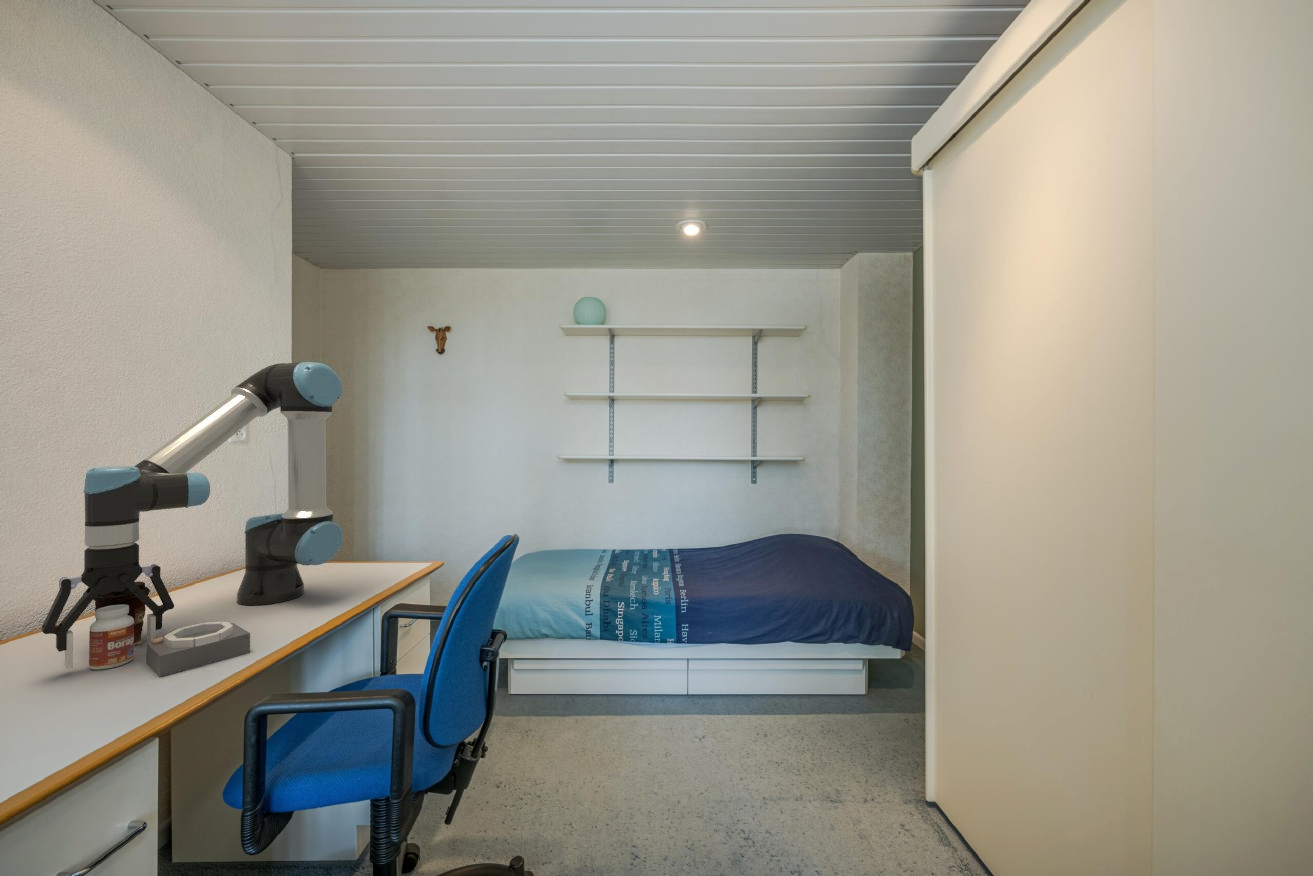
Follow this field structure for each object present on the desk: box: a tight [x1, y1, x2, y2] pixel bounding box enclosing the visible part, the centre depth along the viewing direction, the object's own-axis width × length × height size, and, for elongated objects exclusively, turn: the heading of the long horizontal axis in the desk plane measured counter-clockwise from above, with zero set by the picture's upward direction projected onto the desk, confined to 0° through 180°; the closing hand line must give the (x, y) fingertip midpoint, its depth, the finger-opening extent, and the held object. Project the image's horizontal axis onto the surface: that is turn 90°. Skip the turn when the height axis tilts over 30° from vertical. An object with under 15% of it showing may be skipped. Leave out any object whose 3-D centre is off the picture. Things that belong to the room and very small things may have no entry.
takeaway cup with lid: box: [93, 581, 151, 646], centre depth 113 cm, size 9×8×13 cm
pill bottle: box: [88, 604, 135, 670], centre depth 104 cm, size 6×6×11 cm
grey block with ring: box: [145, 621, 251, 678], centre depth 107 cm, size 14×10×6 cm
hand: (111, 656), depth 104 cm, fingers open, 11 cm apart
